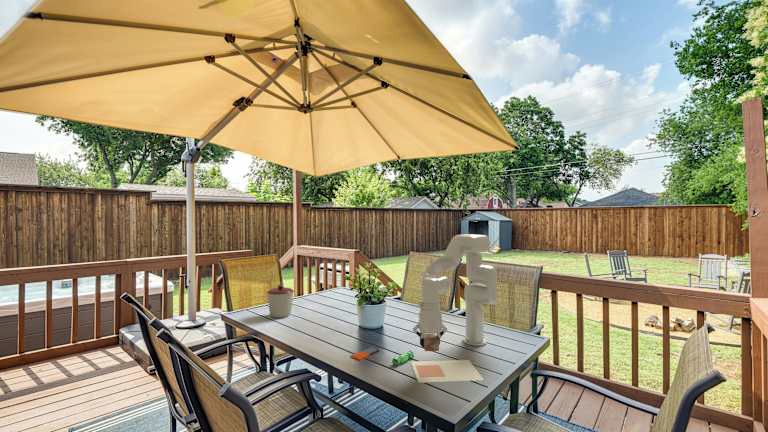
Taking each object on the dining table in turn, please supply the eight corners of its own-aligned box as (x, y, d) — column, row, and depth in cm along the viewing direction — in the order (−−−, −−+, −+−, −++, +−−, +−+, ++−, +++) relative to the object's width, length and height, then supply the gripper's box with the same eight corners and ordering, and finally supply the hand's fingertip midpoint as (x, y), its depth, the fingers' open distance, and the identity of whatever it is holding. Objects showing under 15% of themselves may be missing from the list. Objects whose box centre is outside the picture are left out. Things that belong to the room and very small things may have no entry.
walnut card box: (425, 351, 150) (425, 340, 150) (421, 343, 159) (421, 333, 159) (438, 351, 150) (439, 340, 150) (434, 343, 159) (434, 333, 159)
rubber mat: (410, 362, 164) (410, 361, 164) (468, 360, 167) (468, 359, 167) (418, 383, 144) (418, 382, 144) (484, 380, 147) (484, 379, 147)
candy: (406, 354, 171) (410, 348, 170) (411, 360, 169) (415, 354, 168) (390, 362, 162) (394, 356, 161) (395, 368, 160) (399, 362, 159)
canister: (273, 311, 246) (273, 281, 245) (298, 312, 243) (298, 282, 243) (261, 319, 228) (261, 287, 227) (287, 320, 225) (287, 288, 225)
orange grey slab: (349, 355, 170) (370, 346, 181) (349, 358, 170) (370, 349, 181) (359, 359, 165) (380, 349, 177) (359, 361, 166) (380, 352, 177)
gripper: (412, 308, 150) (411, 350, 150) (451, 307, 151) (451, 349, 151) (409, 303, 157) (409, 343, 157) (447, 303, 159) (446, 342, 159)
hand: (429, 346), depth 154 cm, fingers closed on walnut card box, 6 cm apart
